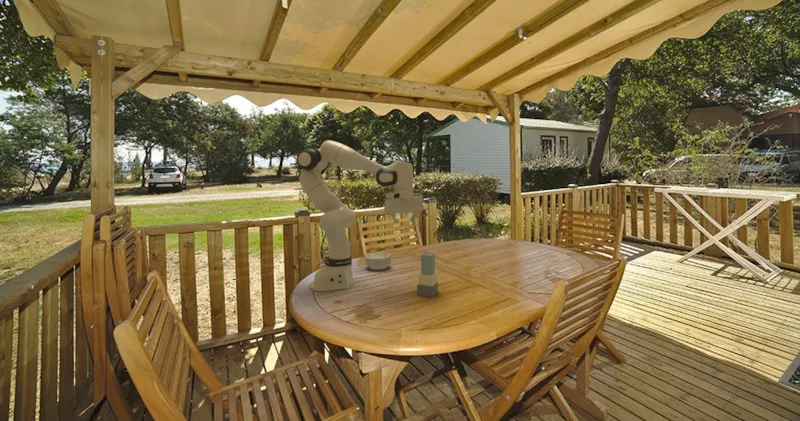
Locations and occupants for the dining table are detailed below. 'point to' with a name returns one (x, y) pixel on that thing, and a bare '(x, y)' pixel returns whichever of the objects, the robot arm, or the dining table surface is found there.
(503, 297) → the dining table surface
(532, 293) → the dining table surface
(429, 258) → the blue pillar
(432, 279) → the tower top
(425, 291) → the tower base
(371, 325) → the dining table surface
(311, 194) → the robot arm
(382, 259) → the paper bowls
